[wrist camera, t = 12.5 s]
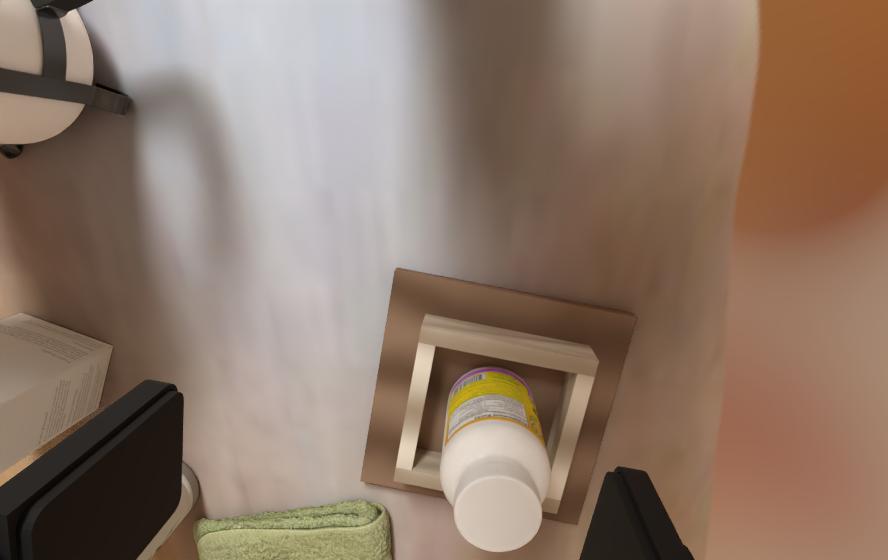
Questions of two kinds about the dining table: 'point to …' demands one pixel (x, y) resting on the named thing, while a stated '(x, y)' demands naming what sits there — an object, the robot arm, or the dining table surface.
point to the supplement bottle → (494, 459)
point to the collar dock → (500, 345)
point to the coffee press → (46, 72)
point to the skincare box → (45, 383)
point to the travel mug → (185, 505)
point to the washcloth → (299, 534)
